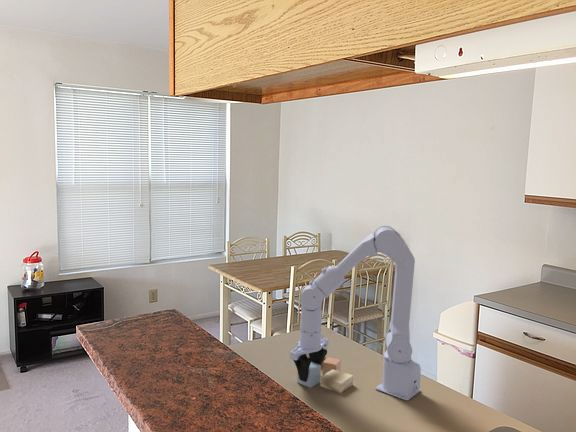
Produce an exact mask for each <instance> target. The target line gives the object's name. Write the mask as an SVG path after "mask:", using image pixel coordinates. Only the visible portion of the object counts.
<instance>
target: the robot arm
mask: <svg viewBox="0 0 576 432" xmlns="http://www.w3.org/2000/svg"><path fill="white" fill-rule="evenodd" d="M378 252H379V253H381V254H382V255H383V256H384V255H385V256H387V257H388V258H390V260H391V261H393V262H394V264H395V270H394V280H393V281H394V282H393V292H392V293H393V294H392V305H391V315H390V316H391V317H390V321H389V326H388V329H387V332H386V333H385V335H384V342H385V344H386V348H387V349H386V350H385V351H384V353H383V359H382V360H383V361H382V363H383V364H382V377H381V378H382V379H381V381H382V383H380V384H378V385H377V386H375V390H377V391H380V392H383V393H385V394H388V395H390V396H392V397H396V398H399V399H400V400H401V399H402V400H404V401H409V400H411V399H412V398H413V397H414V396H416V395H417V394H418V393H419V392H421V390H422V389H421V388H420V385H421V366H420V364H419V363H418V362H415V361H414V360H413V359H412V354H413V348H412V345H411V343H410V338H411V335H410V317H411V309H412V306H411V305H412V296H413V286H414V274H415V263H416V262H415V261H416V260H415V256H414V255H413V252H412V251H411V250H410V248H409V246H408V245H407V243H406V241H405V239H404V238H403V237H402V235H401V234H400V233H399V232H398V231H397V230H396V229H394V228H393V227H392V226H389V225H381V226H379V227H377V228H376V229H375V231H374V233H373V232H371V233H369V234H368V235H367V236H366V237H365V238H364V239H362V241H360V242H359V243H358V244H357V245H356V246H355V247H354V248H353V249H352V250H350V252H349V253H348V254H347V255H346V256H345V257H344V258H343V259H342V260H341V261H340V262H339V263H338V264H337V265H329V266H328V267H326V266H325V267H323V268H322V269H321V273H320V274H319V275H318V276H317V277H316V278H315V279H314V280H312V279H311V280H310V281H309V283H308V284H307V285H306V286H304V288H303V289H302V291H301V294H300V303H301V306H300V310H301V312H300V318H299V319H300V320H299V321H300V324H299V341H297V342H296V345H297V346H296V347H295V348H294V349H292V350H291V351H290V352H289V354H290V355H289V359H291V360H292V361H293V362H294V364H295V368H296V370H297V374H298V375H299V379H300V380H301V381H304V382H306V381H307V378H308V371H309V366H310V363H311V362H314V363H317V364H320V365H321V366H322V365H323V361H324V360H325V357H326V356H327V354H328V349H327V350H326V349H323V346H327V347H329V338H327V337H326V338H325V337H324V338H321V334H322V320H323V319H322V318H323V317H322V311H321V310H322V305H323V301H324V299H327V298H329V296H330V295H332V294H333V293H334V292H335V291H336V290H338V288H339V287H340V286H341V285H343V283H344V282H345V275H347V274H348V273H349V272H350V271H351V270H352V269H353V268H355V267H356V266H357V265H358V264H360V262H362V261H363V260H364V259H365V258H367V257H370V256H371V257H372V256H378V255H379V254H378ZM308 353H309V357H310V358H307V356H306V354H308Z"/></svg>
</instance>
